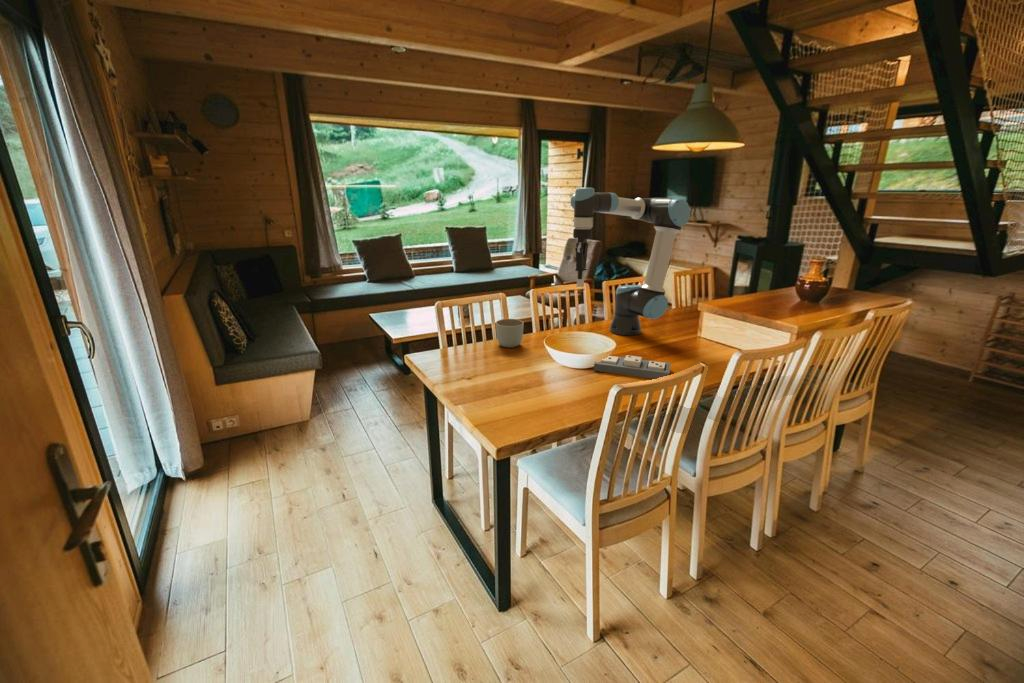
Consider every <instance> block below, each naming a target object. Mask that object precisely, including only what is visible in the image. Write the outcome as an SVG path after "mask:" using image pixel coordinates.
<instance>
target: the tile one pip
mask: <svg viewBox="0 0 1024 683" xmlns="http://www.w3.org/2000/svg"><path fill="white" fill-rule="evenodd" d="M618 357H619V356H616V357H614V355H608V357H607V358H605V359H602V360H601V363H609V364H618Z"/></svg>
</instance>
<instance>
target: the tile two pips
mask: <svg viewBox="0 0 1024 683" xmlns="http://www.w3.org/2000/svg"><path fill="white" fill-rule="evenodd" d="M624 358H625V359H624V366H632V367H640V365H641V360H643V358H642V356H637V355H636V356H635V355H630V354H629V355H628V354H626V355H625V356H624Z"/></svg>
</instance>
